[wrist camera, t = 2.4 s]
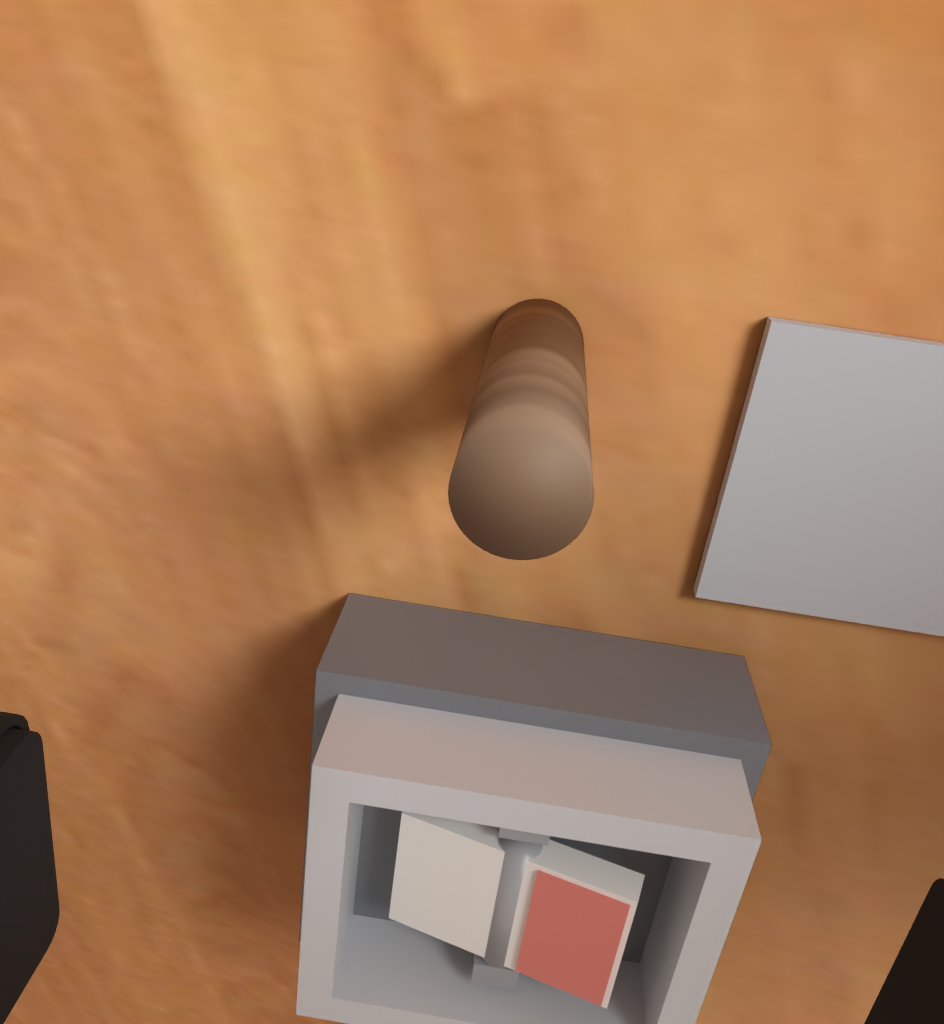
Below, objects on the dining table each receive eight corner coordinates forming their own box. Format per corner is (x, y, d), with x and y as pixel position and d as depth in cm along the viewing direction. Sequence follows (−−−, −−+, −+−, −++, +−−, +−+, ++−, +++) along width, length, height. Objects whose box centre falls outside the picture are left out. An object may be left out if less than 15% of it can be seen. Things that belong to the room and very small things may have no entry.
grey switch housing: (349, 593, 34) (286, 739, 26) (744, 656, 34) (796, 824, 26) (329, 844, 40) (272, 1025, 32) (667, 901, 39) (691, 1098, 32)
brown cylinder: (498, 292, 29) (457, 416, 18) (591, 306, 29) (606, 439, 18) (485, 381, 30) (440, 548, 19) (574, 395, 30) (579, 570, 19)
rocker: (417, 785, 31) (400, 813, 30) (646, 870, 29) (637, 904, 28) (403, 893, 33) (386, 923, 32) (614, 979, 31) (605, 1014, 30)
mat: (767, 316, 28) (771, 321, 28) (1088, 364, 28) (1099, 369, 27) (693, 588, 33) (695, 597, 32) (970, 632, 32) (977, 642, 32)
